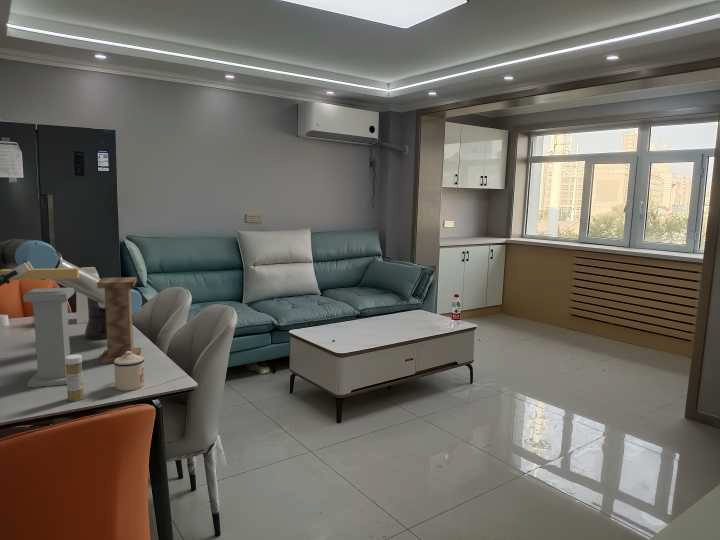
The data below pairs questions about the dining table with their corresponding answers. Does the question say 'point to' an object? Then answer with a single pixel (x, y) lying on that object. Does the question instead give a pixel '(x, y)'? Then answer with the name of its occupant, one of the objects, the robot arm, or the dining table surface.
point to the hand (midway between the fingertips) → (28, 265)
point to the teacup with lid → (129, 372)
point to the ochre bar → (46, 273)
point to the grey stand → (50, 334)
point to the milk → (84, 300)
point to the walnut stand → (118, 317)
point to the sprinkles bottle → (74, 377)
